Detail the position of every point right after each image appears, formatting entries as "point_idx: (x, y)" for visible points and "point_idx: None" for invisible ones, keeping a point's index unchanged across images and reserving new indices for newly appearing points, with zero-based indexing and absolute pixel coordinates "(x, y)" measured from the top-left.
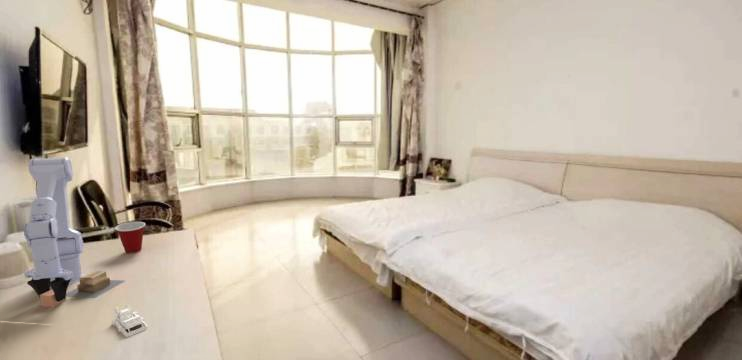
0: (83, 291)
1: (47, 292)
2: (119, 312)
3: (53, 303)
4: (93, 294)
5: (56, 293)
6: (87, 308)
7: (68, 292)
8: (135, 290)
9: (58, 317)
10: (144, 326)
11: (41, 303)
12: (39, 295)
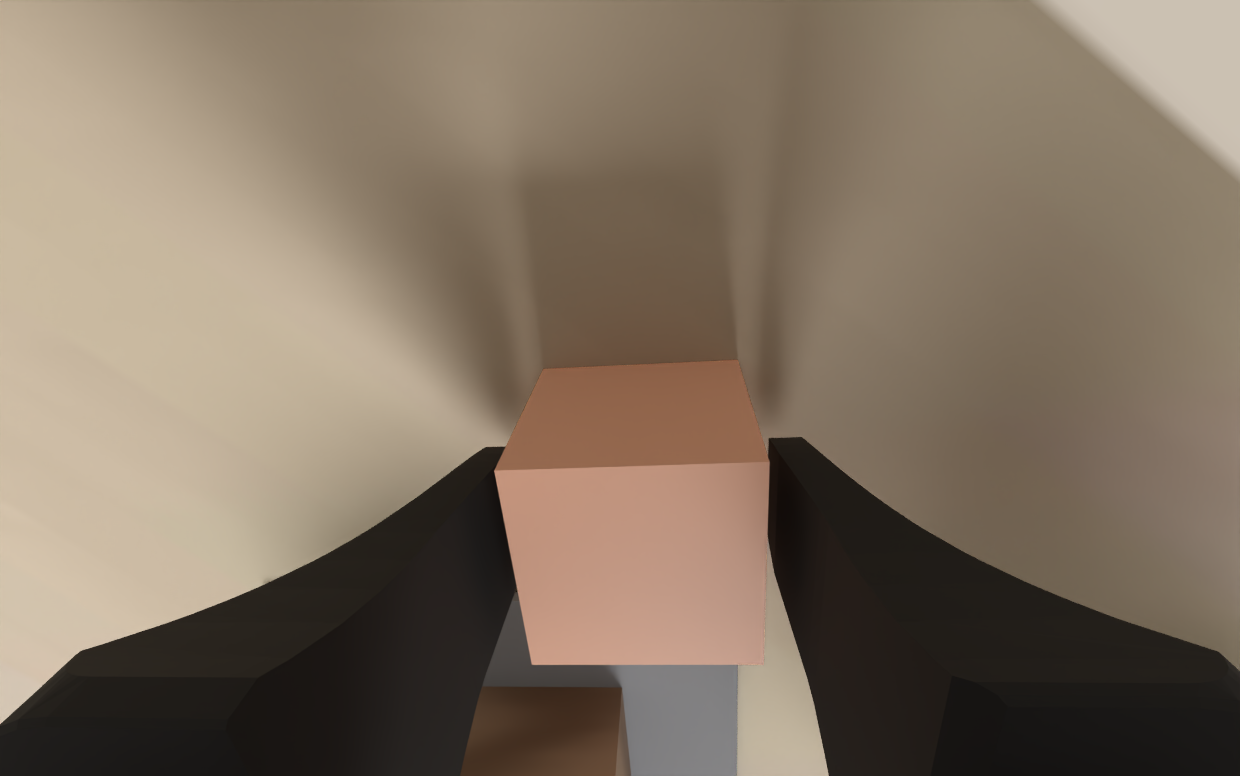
0: (550, 695)
1: (721, 558)
2: None
3: (531, 403)
4: None
5: (391, 518)
6: (81, 412)
7: (736, 670)
8: None
9: (149, 156)
10: None
11: (737, 383)
12: (818, 477)
